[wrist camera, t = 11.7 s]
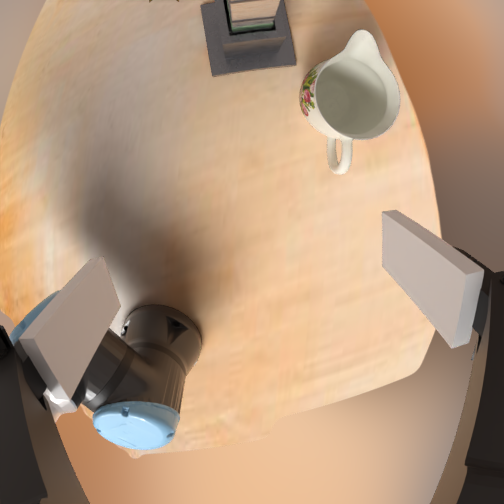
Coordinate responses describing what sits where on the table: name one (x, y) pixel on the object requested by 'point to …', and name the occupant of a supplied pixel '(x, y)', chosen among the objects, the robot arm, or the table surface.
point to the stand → (245, 42)
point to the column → (252, 15)
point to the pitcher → (350, 97)
